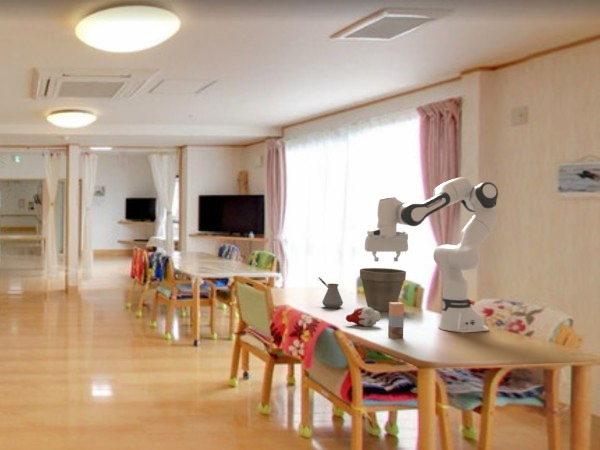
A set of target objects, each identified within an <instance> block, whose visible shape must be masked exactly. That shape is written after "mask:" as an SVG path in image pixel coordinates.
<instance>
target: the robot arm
mask: <svg viewBox="0 0 600 450" xmlns="http://www.w3.org/2000/svg"><path fill="white" fill-rule="evenodd" d="M498 196H499V190H498V187H497V186H496V184H494V183H493V182H490V181H485V182H481V183H479V184H477V185H476V186H475V185H473V183H472V182H471V180H470V179H469V178H467V177H466V176H460V177H456V178H452V179H449V180H446V181H445V182H443V183H441V184H440V185H438V186H436V187H435V188H434V189H433V192H432V197H431V198H429V199H427V200H425V201H423V202H422V203H404V202H403V201H401V200H399V199H397V198H396V197H395V196H386V197H385V196H384V197H382V198H380V199H379V201H378V205H377V218H378V220H377V224H376V225H377V227H375V228H371V229H369V230H367V232H366V234H367V236H366V238H365V241H364V250H365V252H370V253H371V254H372V256H373V258H374V259H373V260H374V262H379V257H378V256H377V252H379V253H381V252H394V253H395V254H396V255H395V257H393V262H399V257H400V256H401V254H402V253H401V252H403V253H404V252H408V250H409V243H408V242H409V241H408V239H409V235H408V233H407V232H405V231H397V224H399V225H404V226H410V227H418V226H419V225H421V224H422V223H423V222H424V221H425V220H426V218H428V217H429V216H430V215H432V214H435V213H436V212H438V211H440V210H442V209H443V208H447V207H450V206H452V205H454V204H456V203H458V202H461V204H462V205H463V207H464V208H465V209H466V210H467V211H469V212H470V213H473V215H472V217H471V218H470V219H469V220H468V222H466V224H465V226H464V227H463V228H462V229H461V230H460V238H461V241H459V243H458V244H457V245H456V244H442V245H438V246H437V247H436V248H435V249H434V252H433V260H434V262H435V263H436V265H438V268H439V270H440V273H441V278H442V283H443V284H442V285H443V287H442V295H443V296H442V298H441V310H442V311H441V317H440V323H439V325H438V328H439V329H441V330H443V331H448V332H449V331H450V332H457V333H473V332H474V333H475V332H486V331H487V332H488V331H489V327H488V326H486V325H485V324H484V318H483V316H482V314H480V313H479V312H478V311H476V310H475V309H474V308H473V307H472V306H475V305H476V302H475V300H472V299H471V300H470V299H469V298H468V297H469V296H468V292H469V291H468V288H469V284H468V280H467V279H466V277H464V274H463V273H462V271H470V270H471V271H472V270H475V269H477V268H478V267H479V265H480V263H481V253H480V248H481V246H482V245H483V242H484V241H485V240H486V239H487V238H488V236H489V235H490V233H491V232H492V230H493V229H494V227H495V226H496V224H497V221H498V218H499V217H498V213H497V211H496V209H494V207H496V205H497V201H498Z"/></svg>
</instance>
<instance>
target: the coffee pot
mask: <svg viewBox="0 0 600 450" xmlns="http://www.w3.org/2000/svg"><path fill="white" fill-rule="evenodd" d="M317 281H320V282H321V284H323V285H324V286H325V287H326V288H327V290H326V291H325V294H324V297H323V299H322V302H321V303H322V305H323V306H324V307H325V308H326V309H340V307H341V306H343V304H344V302H343V299H342V297H341V296H342V295H341V293H340V291H339V289H338V287H339V283H326V282H325V281H324V280H323V279H322V278H321V277H318V278H317Z"/></svg>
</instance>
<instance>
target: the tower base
mask: <svg viewBox="0 0 600 450" xmlns="http://www.w3.org/2000/svg"><path fill="white" fill-rule="evenodd" d="M387 331H388V332H387V333H388V334H387V336H389V338H390V339H391V340H400V339H401V340H402V339H404V326H403V327H391V326H389V324H388V327H387Z"/></svg>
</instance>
